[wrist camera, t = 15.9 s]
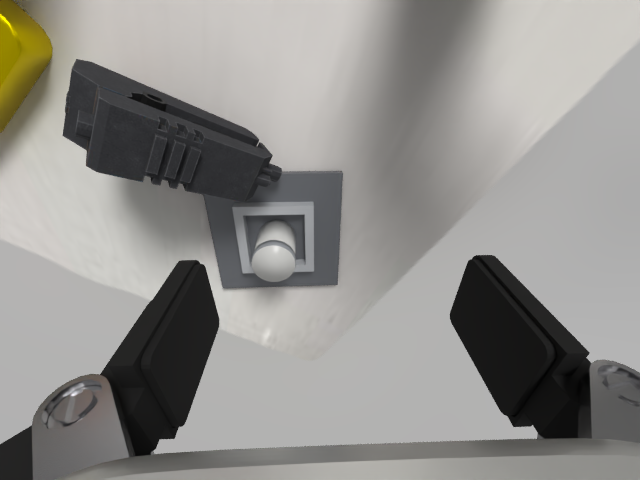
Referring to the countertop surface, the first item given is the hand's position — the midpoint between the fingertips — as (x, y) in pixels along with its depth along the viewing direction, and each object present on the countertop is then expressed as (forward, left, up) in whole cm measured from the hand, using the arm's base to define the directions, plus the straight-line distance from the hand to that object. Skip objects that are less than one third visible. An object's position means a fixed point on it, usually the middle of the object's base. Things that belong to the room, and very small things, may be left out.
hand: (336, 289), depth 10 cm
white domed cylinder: (+5, +12, -27) cm, 30 cm away
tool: (+13, -2, -29) cm, 31 cm away
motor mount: (+5, +12, -28) cm, 31 cm away
